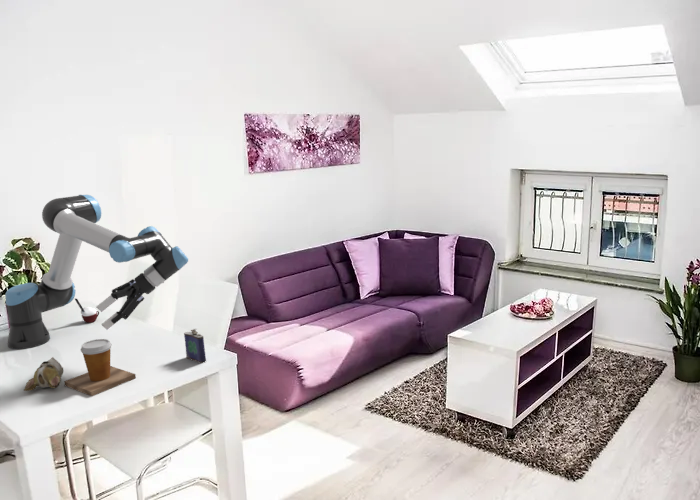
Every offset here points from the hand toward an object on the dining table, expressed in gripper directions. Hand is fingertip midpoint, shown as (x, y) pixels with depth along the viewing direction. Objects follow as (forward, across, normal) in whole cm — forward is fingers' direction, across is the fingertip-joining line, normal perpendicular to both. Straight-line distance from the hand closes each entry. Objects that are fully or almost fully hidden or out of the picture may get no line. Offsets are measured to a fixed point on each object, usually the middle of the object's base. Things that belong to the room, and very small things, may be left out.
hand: (101, 318), depth 214 cm
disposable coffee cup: (+10, -21, -7) cm, 24 cm away
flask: (-16, -20, -27) cm, 37 cm away
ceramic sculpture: (+24, -14, 0) cm, 28 cm away
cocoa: (+18, +52, -24) cm, 60 cm away
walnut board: (+10, -21, -8) cm, 25 cm away
